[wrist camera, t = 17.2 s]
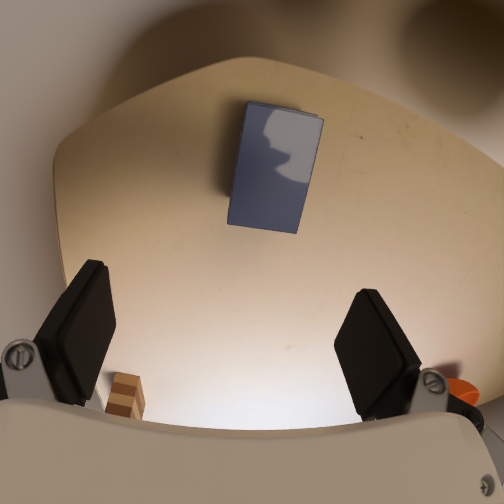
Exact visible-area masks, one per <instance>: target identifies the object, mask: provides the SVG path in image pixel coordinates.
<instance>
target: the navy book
mask: <svg viewBox="0 0 504 504" xmlns="http://www.w3.org/2000/svg"><path fill="white" fill-rule="evenodd" d="M323 122H324V119H321V118H317V117H313V116H309V115H305V114H300V113H296V112H291V111H287V110H282V109H277V108H272V107H266V106H261V105H255V104H249V103H248V104H246V106H245V112H244V117H243V123H242V129H241V134H240V140H239V146H238V152H237V158H236V164H235V170H234V176H233V182H232V188H231V195H230V201H229V207H228V216H227V224H228V225H236V226H243V227H251V228H258V229H265V230H272V231H279V232H286V233H293V234H296V233H297V230H298V226H299V222H300V219H301V215H302V211H303V207H304V203H305V199H306V195H307V191H308V187H309V183H310V179H311V174H312V170H313V166H314V162H315V158H316V153H317V149H318V145H319V140H320V136H321V131H322V127H323Z"/></svg>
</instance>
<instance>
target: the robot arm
mask: <svg viewBox="0 0 504 504" xmlns="http://www.w3.org/2000/svg"><path fill="white" fill-rule="evenodd" d="M115 328H116V319H115V313H114V307H113V301H112V294H111V287H110V279H109V271H108V267H107V266H104V263H103V262H102V261H98V260H90V259H88V260H87V261H86V262H85V264H84V265H83V266H82V268H81V269H80V270H79V272H78V273H77V275H76V276H75V277H74V279H73V280H72V282H71V283H70V285H69V286H68V288H67V289H66V291H65V292H64V293H63V294H62V295H61V296H60V298H59V299H58V301H57V302H56V304H55V305H54V307H53V309H52V310H51V311H50V313H49V315H48V316H47V318H46V320H45V321H44V323H43V325H42V326H41V328H40V329H39V331H38V333H37V334H36V336H35V338H34V340H33V341H30V340H28V339H18V340H15V341H12V342H11V343H9V344H8V345H7V346H6V347H5V349H4V350H3V352H2V355H1V363H0V504H504V492H503V489H502V485H503V483H504V441H503V440H502V439H501V438H500V437H499V436H498V435H497V434H496V433H495V432H494V431H493V430H492V429H490V428H489V427H488V426H487V425H486V426H485V427H484V419H483V416H482V414H481V412H480V411H479V410H478V409H477V408H475V407H474V406H472V405H470V404H468V403H466V402H465V401H463V400H461V399H459V398H457V397H456V396H454V395H452V394H450V393H449V390H450V388H449V383H448V380H447V379H446V377H445V376H444V375H443V374H442V373H441V372H440V371H438V370H436V369H433V368H425V369H423V370H422V371H420V369H419V367H420V366H421V364H422V363H421V361H420V359H419V358H418V356H417V354H416V352H415V351H414V349H413V347H412V345H411V344H410V342H409V340H408V339H407V337H406V335H405V334H404V332H403V330H402V329H401V327H400V325H399V324H398V322H397V321H396V319H395V317H394V316H393V314H392V313H391V311H390V309H389V308H388V306H387V305H386V303H385V302H384V300H383V298H382V297H381V295H380V294H379V292H378V291H377V290H376V289H362V290H360V292H357V293H356V295H355V298H354V300H353V302H352V304H351V307H350V309H349V311H348V313H347V316H346V318H345V320H344V322H343V324H342V326H341V328H340V330H339V333H338V335H337V337H336V339H335V342H334V348H335V351H336V354H337V357H338V360H339V363H340V365H341V368H342V371H343V374H344V377H345V380H346V382H347V385H348V388H349V391H350V394H351V397H352V400H353V403H354V406H355V409H356V412H357V414H358V415H361V418H362V421H363V422H361V423H354V424H347V425H338V426H329V427H319V428H306V429H289V430H227V429H210V428H197V427H187V426H178V425H169V424H162V423H155V422H149V421H143V420H137V419H132V418H127V417H121V416H116V415H111V414H107V413H102V412H98V411H93V410H90V409H85V408H82V407H84V405H85V402H86V400H90V399H91V396H92V394H93V390H94V387H95V384H96V381H97V378H98V375H99V372H100V369H101V367H102V364H103V361H104V358H105V355H106V353H107V350H108V347H109V344H110V342H111V339H112V337H113V334H114V331H115ZM73 404H76V405H79V406H82V407H77V406H73ZM375 419H376V420H375ZM372 420H373V421H372ZM366 421H367V422H366Z"/></svg>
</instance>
